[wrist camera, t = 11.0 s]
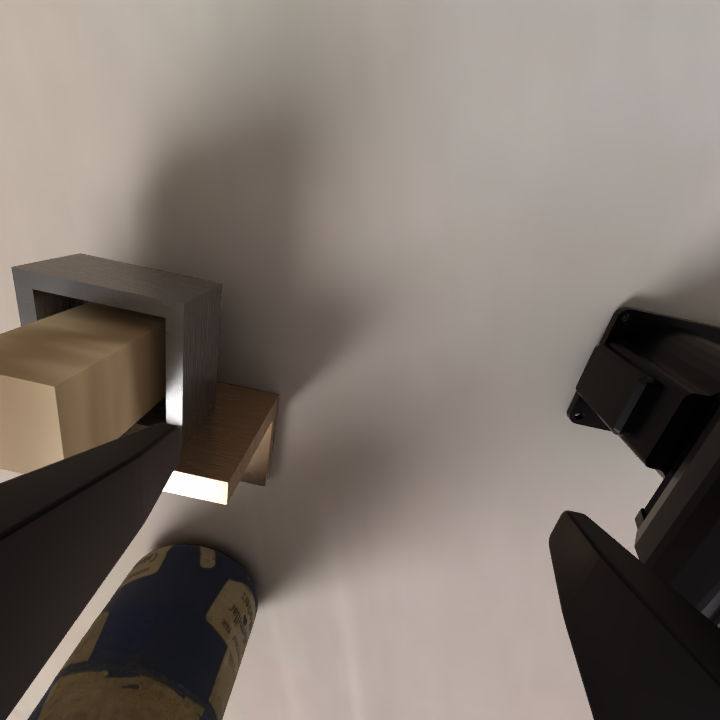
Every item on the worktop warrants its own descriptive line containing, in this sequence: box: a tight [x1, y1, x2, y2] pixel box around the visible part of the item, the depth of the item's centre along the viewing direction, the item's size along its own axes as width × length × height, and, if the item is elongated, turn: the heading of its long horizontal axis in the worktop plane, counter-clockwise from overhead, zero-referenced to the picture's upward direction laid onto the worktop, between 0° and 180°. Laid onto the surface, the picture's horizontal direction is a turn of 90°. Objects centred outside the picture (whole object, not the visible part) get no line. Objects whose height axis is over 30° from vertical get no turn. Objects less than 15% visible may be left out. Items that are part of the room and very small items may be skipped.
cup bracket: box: [12, 253, 279, 505], centre depth 19 cm, size 12×13×8 cm
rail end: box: [0, 302, 166, 474], centre depth 15 cm, size 4×4×7 cm
